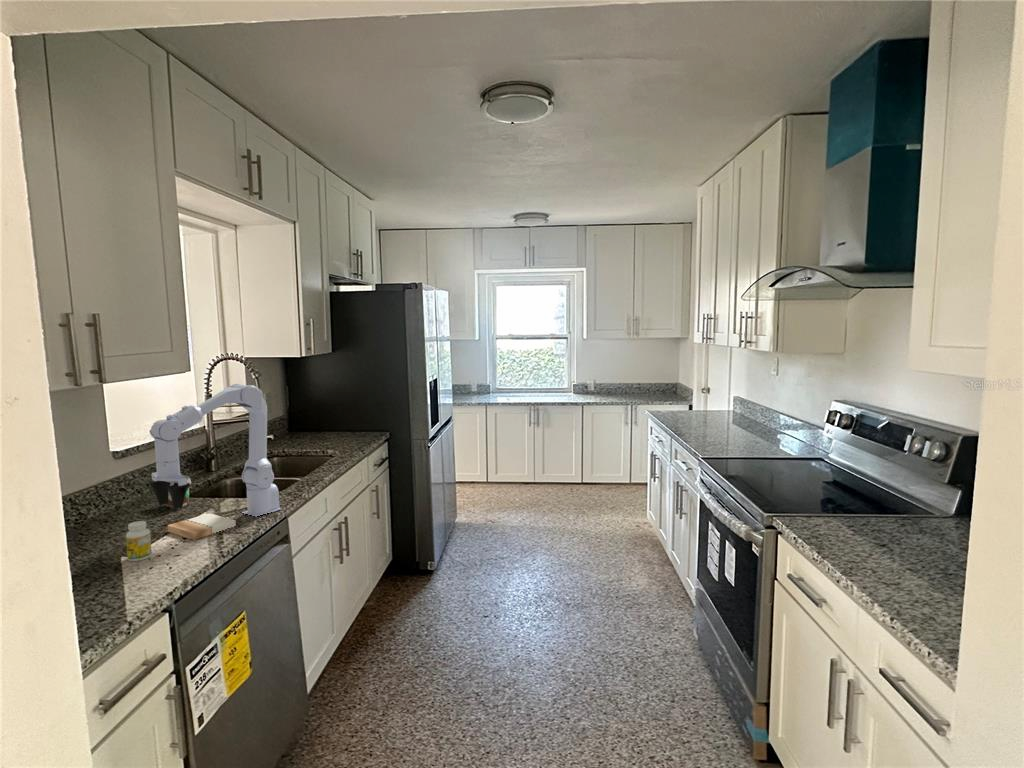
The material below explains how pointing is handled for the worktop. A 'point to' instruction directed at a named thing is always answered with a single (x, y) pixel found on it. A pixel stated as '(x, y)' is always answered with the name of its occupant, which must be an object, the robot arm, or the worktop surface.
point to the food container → (186, 499)
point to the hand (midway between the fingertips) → (170, 506)
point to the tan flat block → (189, 529)
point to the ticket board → (213, 522)
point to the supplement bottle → (138, 541)
